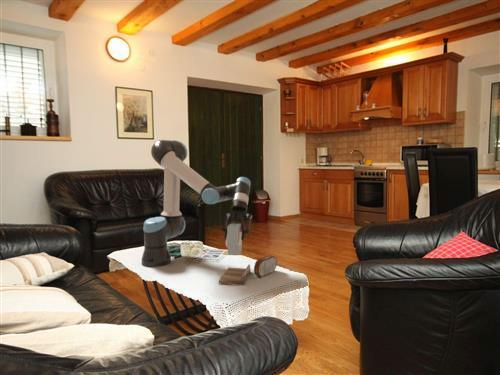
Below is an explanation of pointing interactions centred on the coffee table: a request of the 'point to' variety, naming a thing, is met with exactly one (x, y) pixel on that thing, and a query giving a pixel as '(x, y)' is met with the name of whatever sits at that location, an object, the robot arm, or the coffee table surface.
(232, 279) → the shelf board
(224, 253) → the coffee table surface
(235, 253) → the carton
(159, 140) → the robot arm
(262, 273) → the tin
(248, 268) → the price rail
